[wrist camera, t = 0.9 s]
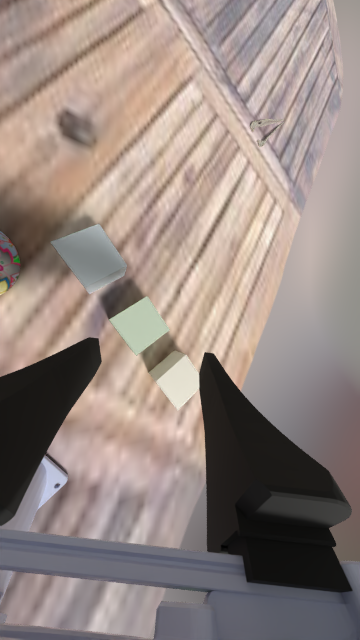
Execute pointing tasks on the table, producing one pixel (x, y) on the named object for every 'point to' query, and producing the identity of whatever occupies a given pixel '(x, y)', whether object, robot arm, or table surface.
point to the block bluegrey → (91, 257)
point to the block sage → (139, 325)
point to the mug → (8, 264)
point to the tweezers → (264, 123)
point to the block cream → (176, 378)
